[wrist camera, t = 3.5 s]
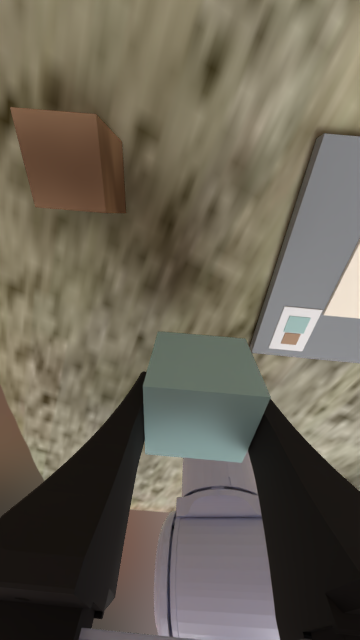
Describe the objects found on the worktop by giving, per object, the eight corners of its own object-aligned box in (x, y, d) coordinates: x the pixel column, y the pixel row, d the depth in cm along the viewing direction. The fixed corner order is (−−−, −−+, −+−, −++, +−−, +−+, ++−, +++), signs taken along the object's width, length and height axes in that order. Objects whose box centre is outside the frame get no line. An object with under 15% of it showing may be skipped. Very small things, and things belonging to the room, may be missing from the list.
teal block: (228, 397, 13) (241, 462, 10) (157, 391, 13) (145, 453, 10) (245, 338, 11) (270, 397, 7) (158, 331, 11) (142, 386, 8)
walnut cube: (126, 213, 14) (105, 212, 11) (73, 208, 14) (35, 207, 11) (122, 142, 12) (95, 113, 9) (60, 137, 12) (9, 107, 9)
